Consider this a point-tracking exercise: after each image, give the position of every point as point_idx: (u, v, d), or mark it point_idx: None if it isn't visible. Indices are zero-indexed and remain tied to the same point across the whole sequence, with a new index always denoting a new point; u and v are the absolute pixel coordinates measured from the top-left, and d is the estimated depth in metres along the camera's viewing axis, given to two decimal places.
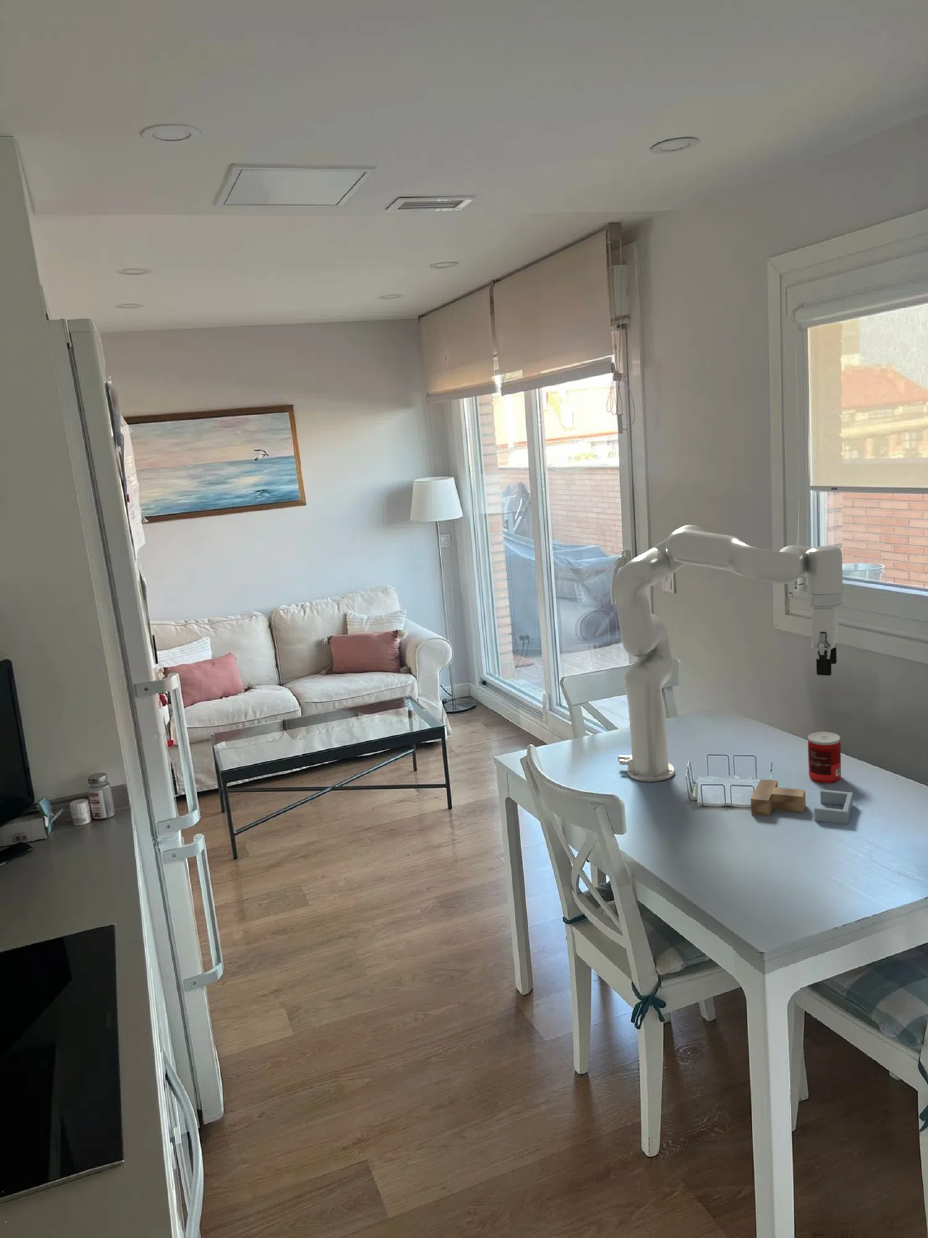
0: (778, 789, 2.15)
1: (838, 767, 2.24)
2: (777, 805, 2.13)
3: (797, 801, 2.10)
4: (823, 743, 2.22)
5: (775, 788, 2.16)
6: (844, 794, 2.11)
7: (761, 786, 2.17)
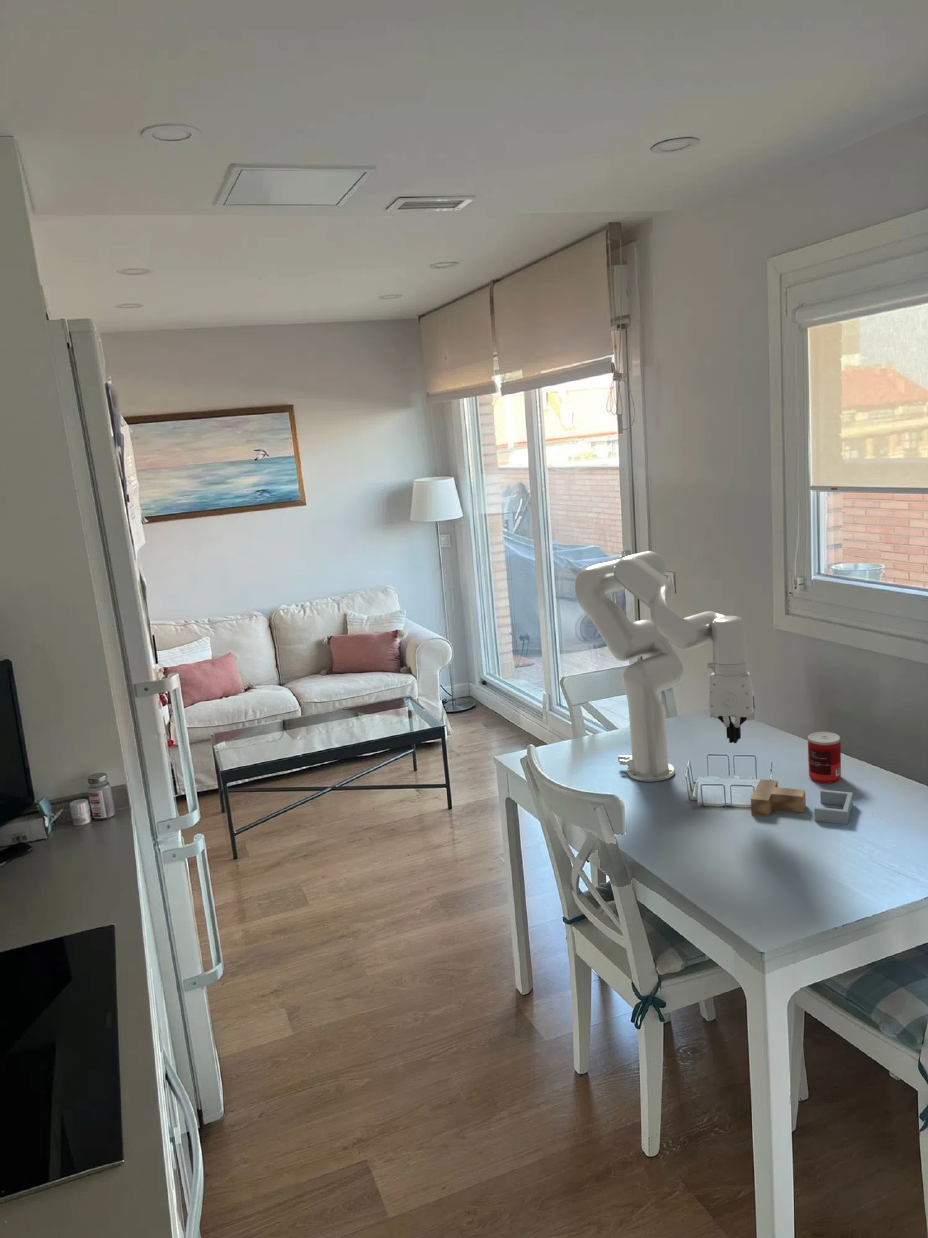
0: (778, 789, 2.15)
1: (838, 767, 2.24)
2: (777, 805, 2.13)
3: (797, 801, 2.10)
4: (823, 743, 2.22)
5: (775, 788, 2.16)
6: (844, 794, 2.11)
7: (761, 786, 2.17)
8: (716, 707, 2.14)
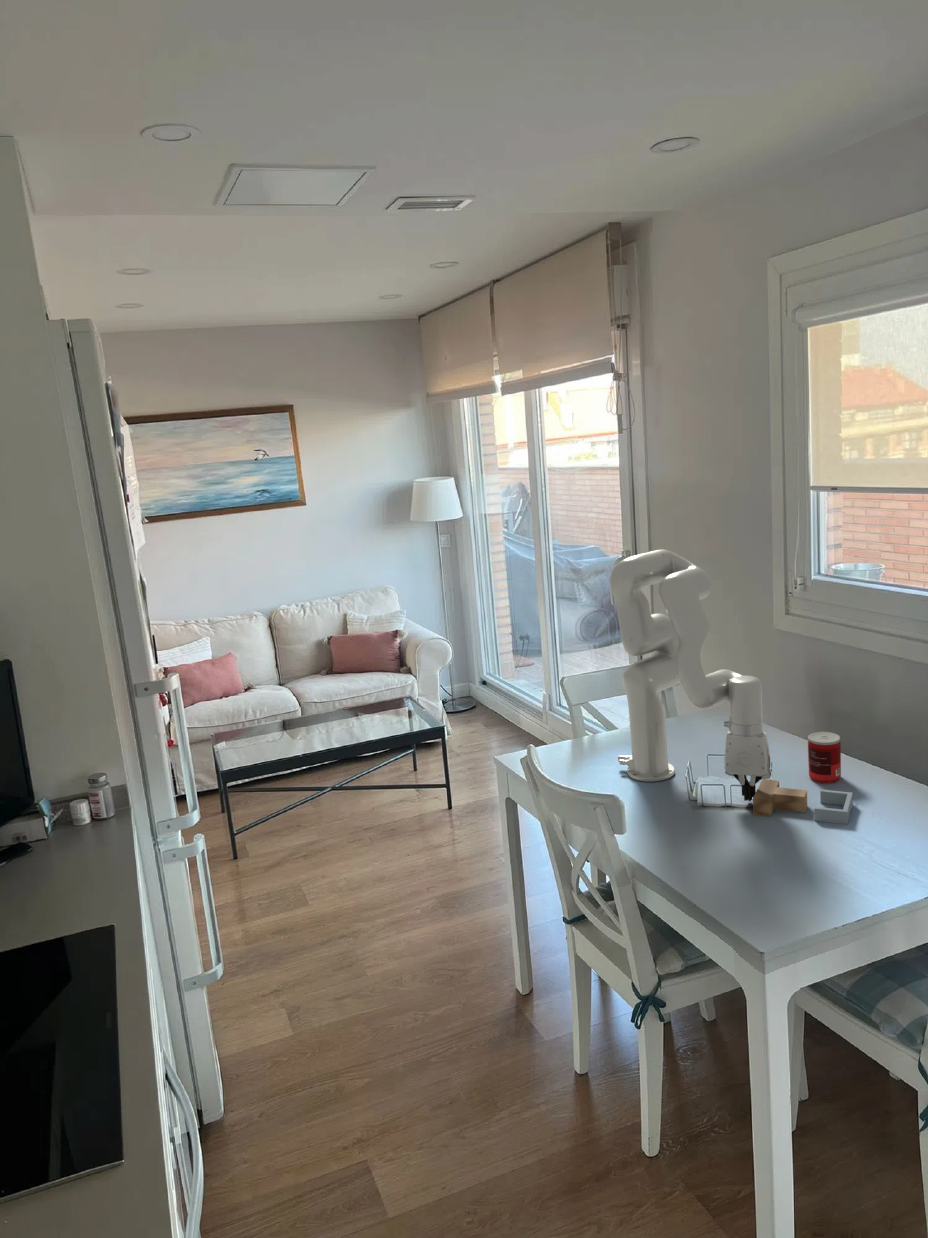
0: (780, 789, 2.15)
1: (838, 767, 2.24)
2: (778, 805, 2.13)
3: (799, 801, 2.10)
4: (823, 743, 2.22)
5: (777, 788, 2.15)
6: (844, 794, 2.11)
7: (763, 786, 2.17)
8: (732, 766, 2.15)
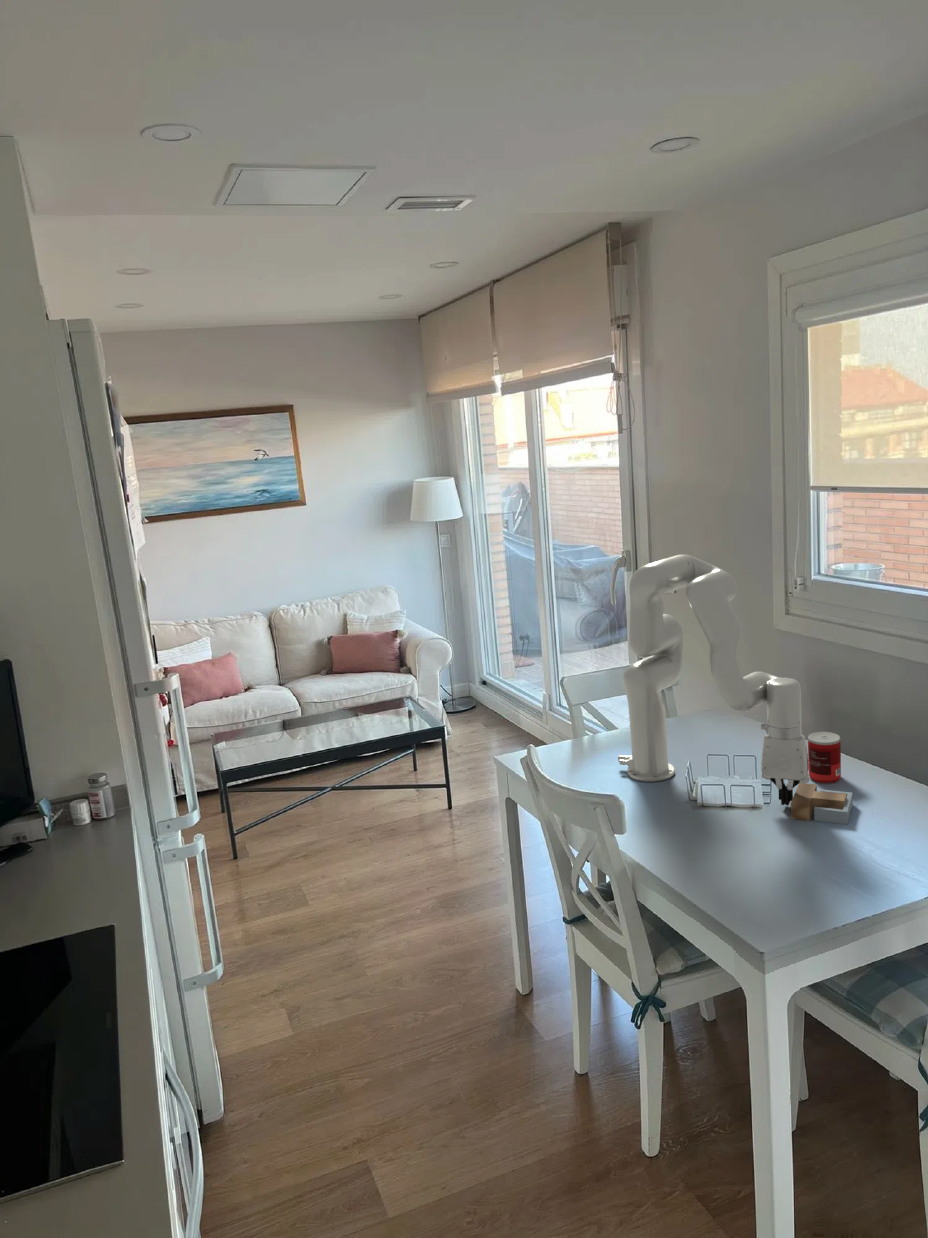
0: (818, 793, 2.10)
1: (838, 767, 2.24)
2: None
3: (839, 805, 2.06)
4: (823, 743, 2.22)
5: (815, 792, 2.11)
6: None
7: (800, 790, 2.13)
8: (769, 769, 2.11)
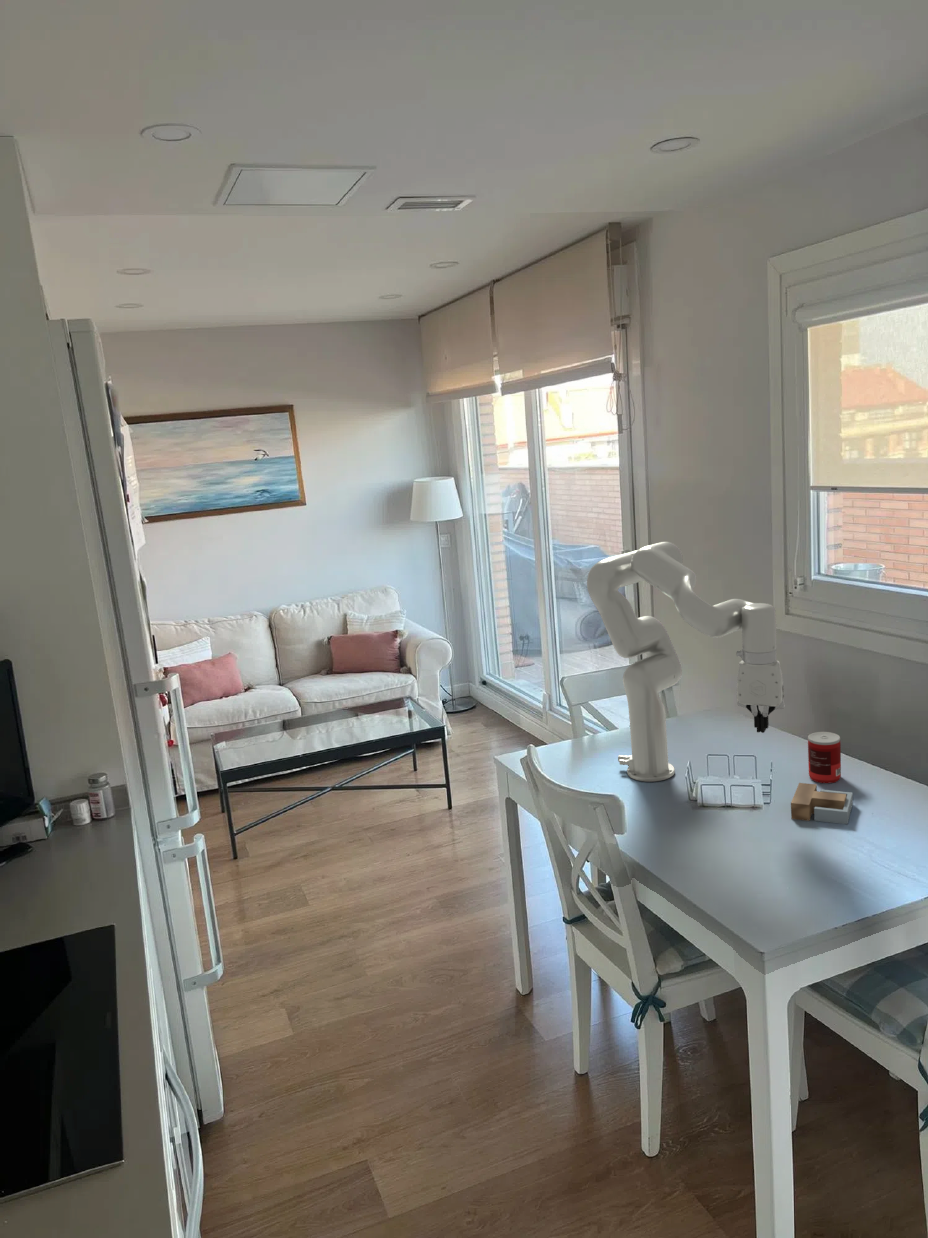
0: (818, 793, 2.10)
1: (838, 767, 2.24)
2: None
3: (839, 805, 2.06)
4: (823, 743, 2.22)
5: (815, 792, 2.11)
6: None
7: (800, 790, 2.13)
8: (744, 696, 2.10)
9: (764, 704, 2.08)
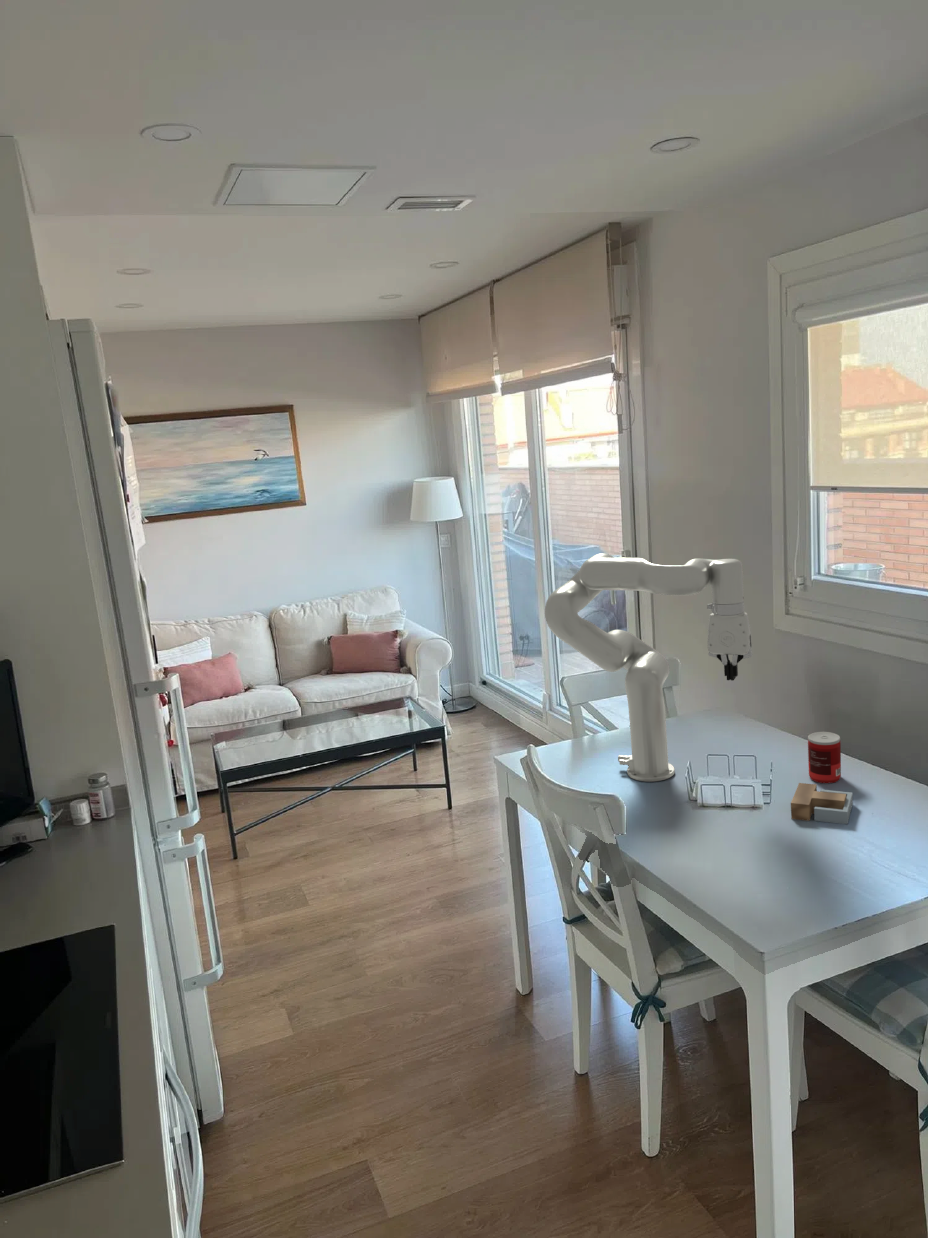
0: (818, 793, 2.11)
1: (838, 767, 2.24)
2: None
3: (839, 805, 2.06)
4: (823, 743, 2.22)
5: (815, 792, 2.11)
6: None
7: (800, 790, 2.13)
8: (714, 646, 2.25)
9: (733, 653, 2.23)
